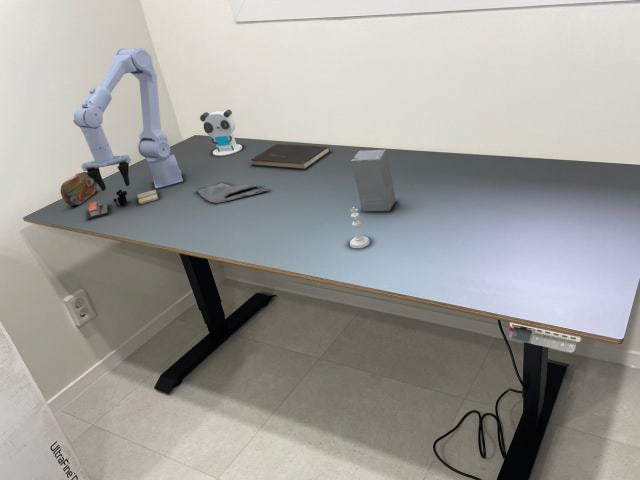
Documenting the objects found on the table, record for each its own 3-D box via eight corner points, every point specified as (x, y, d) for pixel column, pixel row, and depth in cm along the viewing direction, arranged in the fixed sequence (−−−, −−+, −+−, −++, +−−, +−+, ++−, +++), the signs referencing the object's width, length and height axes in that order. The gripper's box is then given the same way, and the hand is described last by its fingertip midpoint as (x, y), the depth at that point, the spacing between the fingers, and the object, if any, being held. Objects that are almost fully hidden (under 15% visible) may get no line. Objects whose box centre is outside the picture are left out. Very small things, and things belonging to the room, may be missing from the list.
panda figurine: (206, 157, 216) (194, 118, 208) (218, 146, 226) (207, 108, 218) (235, 154, 214) (224, 115, 206) (246, 143, 223) (235, 105, 215)
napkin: (156, 193, 191) (155, 189, 191) (158, 199, 186) (157, 195, 186) (138, 198, 190) (137, 194, 189) (139, 204, 185) (138, 200, 184)
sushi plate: (108, 205, 188) (104, 198, 186) (108, 214, 181) (104, 206, 180) (89, 211, 186) (85, 203, 185) (88, 220, 180) (85, 212, 178)
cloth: (184, 199, 183) (181, 193, 182) (213, 182, 192) (211, 176, 191) (244, 207, 170) (242, 201, 169) (272, 188, 180) (271, 182, 179)
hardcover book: (304, 169, 190) (303, 163, 189) (252, 165, 201) (250, 159, 200) (330, 152, 201) (328, 145, 200) (279, 149, 212) (277, 143, 211)
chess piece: (349, 240, 144) (342, 204, 138) (368, 237, 144) (362, 201, 138) (350, 249, 139) (343, 213, 134) (370, 246, 139) (364, 210, 134)
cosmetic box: (396, 201, 159) (389, 147, 150) (388, 213, 153) (380, 158, 145) (368, 201, 162) (359, 148, 153) (359, 212, 156) (350, 158, 148)
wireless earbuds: (128, 200, 190) (122, 186, 187) (134, 199, 189) (129, 185, 186) (115, 209, 184) (109, 195, 181) (122, 209, 184) (116, 195, 181)
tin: (73, 209, 190) (63, 186, 185) (66, 209, 191) (55, 186, 186) (100, 190, 202) (90, 167, 198) (92, 190, 203) (83, 168, 198)
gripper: (72, 155, 171) (90, 196, 179) (120, 146, 172) (136, 187, 180) (78, 148, 177) (95, 187, 185) (125, 139, 178) (140, 179, 186)
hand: (116, 187), depth 183 cm, fingers open, 7 cm apart
